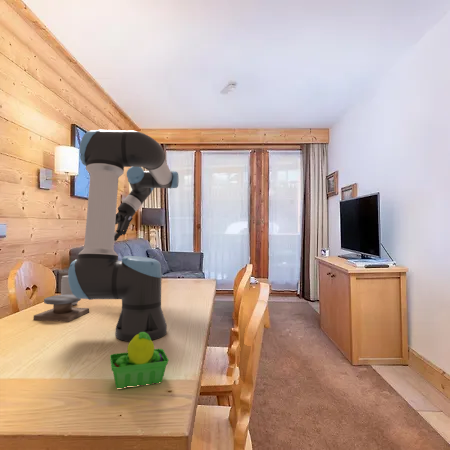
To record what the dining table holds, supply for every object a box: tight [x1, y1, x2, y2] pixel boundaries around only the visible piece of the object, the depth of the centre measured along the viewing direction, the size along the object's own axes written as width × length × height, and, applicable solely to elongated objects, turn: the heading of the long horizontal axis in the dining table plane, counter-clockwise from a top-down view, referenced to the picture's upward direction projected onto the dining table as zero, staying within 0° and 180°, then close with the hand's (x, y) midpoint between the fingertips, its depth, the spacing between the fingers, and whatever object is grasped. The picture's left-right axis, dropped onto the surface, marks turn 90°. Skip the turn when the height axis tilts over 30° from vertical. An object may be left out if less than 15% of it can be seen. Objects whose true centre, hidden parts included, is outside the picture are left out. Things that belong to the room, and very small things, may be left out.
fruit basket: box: [109, 332, 169, 389], centre depth 69 cm, size 11×9×11 cm
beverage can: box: [60, 274, 79, 306], centre depth 137 cm, size 6×6×12 cm
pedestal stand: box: [33, 294, 90, 323], centre depth 120 cm, size 13×13×6 cm
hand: (100, 243), depth 143 cm, fingers open, 13 cm apart
